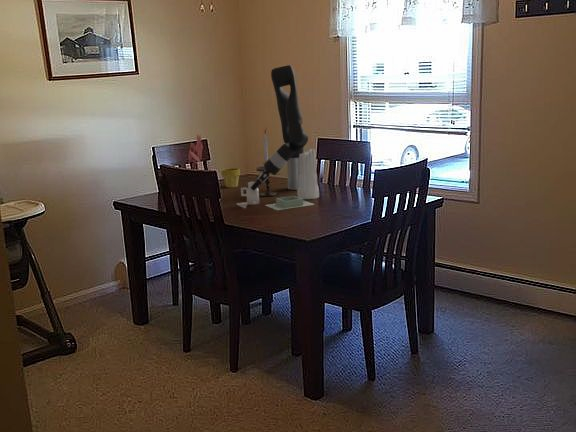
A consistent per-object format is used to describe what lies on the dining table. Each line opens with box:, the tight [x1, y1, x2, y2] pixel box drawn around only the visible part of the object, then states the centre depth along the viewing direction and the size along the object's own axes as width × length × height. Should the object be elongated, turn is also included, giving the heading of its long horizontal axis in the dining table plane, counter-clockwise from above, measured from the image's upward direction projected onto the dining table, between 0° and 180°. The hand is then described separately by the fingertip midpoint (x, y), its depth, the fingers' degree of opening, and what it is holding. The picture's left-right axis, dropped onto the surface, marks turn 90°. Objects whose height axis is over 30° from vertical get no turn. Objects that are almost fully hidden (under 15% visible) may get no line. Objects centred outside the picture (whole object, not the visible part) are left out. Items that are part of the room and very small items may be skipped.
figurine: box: [187, 133, 204, 171], centre depth 331 cm, size 15×26×35 cm, turn 13°
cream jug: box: [240, 181, 260, 206], centre depth 330 cm, size 9×6×10 cm
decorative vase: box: [296, 148, 320, 200], centre depth 338 cm, size 11×11×25 cm
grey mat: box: [236, 201, 249, 209], centre depth 331 cm, size 13×11×1 cm
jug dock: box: [264, 195, 316, 211], centre depth 324 cm, size 20×14×4 cm
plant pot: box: [220, 167, 241, 188], centre depth 381 cm, size 10×10×10 cm
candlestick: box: [256, 128, 278, 198], centre depth 349 cm, size 11×11×35 cm
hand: (253, 187), depth 330 cm, fingers open, 8 cm apart
